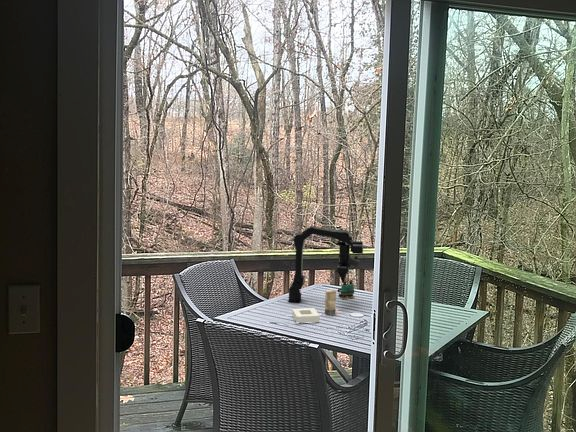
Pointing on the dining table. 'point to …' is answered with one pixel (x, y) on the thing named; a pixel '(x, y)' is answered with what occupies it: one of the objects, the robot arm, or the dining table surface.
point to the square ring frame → (305, 315)
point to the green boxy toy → (347, 290)
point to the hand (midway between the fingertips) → (344, 279)
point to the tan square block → (330, 302)
